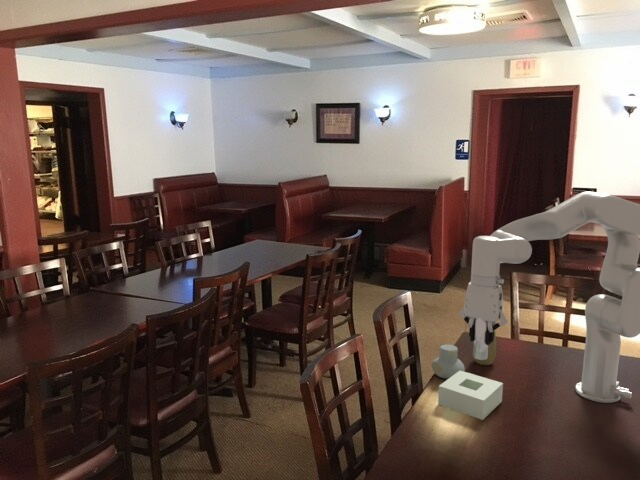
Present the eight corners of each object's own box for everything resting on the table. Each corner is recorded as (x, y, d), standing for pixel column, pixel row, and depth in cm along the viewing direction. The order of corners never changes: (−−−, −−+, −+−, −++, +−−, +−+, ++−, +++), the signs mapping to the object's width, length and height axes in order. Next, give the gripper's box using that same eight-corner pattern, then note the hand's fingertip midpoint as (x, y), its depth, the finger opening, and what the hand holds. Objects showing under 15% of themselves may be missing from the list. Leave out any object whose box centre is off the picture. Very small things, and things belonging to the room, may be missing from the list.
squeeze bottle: (497, 367, 187) (500, 318, 184) (472, 366, 189) (475, 316, 185) (494, 358, 195) (497, 310, 191) (471, 356, 196) (474, 309, 193)
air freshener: (467, 380, 178) (469, 351, 176) (445, 384, 175) (447, 355, 173) (449, 367, 188) (450, 340, 186) (428, 370, 185) (429, 343, 183)
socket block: (501, 401, 164) (503, 383, 162) (482, 420, 153) (483, 400, 152) (458, 387, 172) (459, 370, 171) (438, 404, 162) (438, 385, 161)
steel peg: (489, 356, 156) (492, 310, 154) (484, 361, 153) (487, 313, 150) (476, 353, 159) (478, 307, 156) (470, 357, 156) (473, 311, 153)
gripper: (519, 282, 149) (514, 344, 153) (462, 272, 160) (459, 331, 163) (509, 288, 144) (505, 353, 147) (451, 278, 154) (448, 338, 157)
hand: (481, 341), depth 155 cm, fingers closed on steel peg, 4 cm apart
